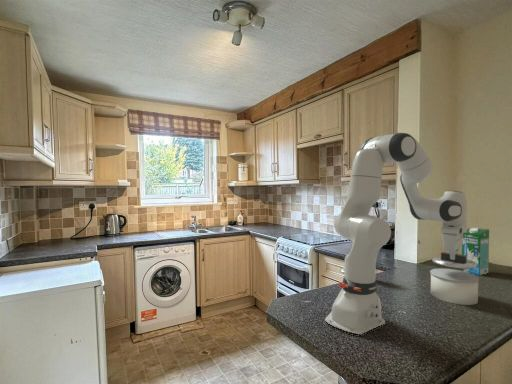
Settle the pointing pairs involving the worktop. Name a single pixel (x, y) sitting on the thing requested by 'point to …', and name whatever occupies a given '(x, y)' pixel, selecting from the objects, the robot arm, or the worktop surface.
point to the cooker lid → (454, 261)
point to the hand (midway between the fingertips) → (453, 258)
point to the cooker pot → (454, 286)
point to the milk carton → (477, 249)
